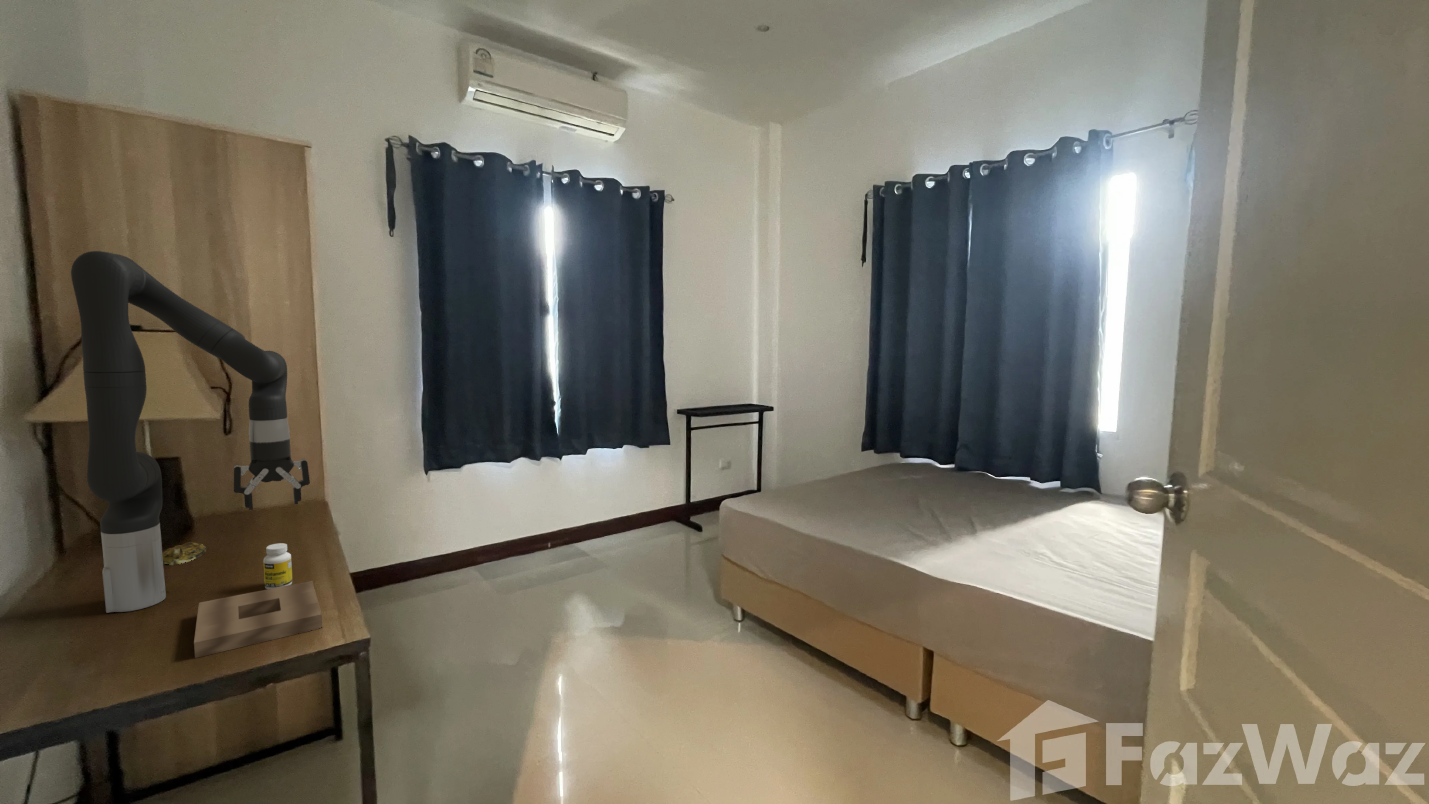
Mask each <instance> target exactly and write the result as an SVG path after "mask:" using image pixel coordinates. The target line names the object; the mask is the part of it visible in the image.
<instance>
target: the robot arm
mask: <svg viewBox="0 0 1429 804" xmlns="http://www.w3.org/2000/svg"><path fill="white" fill-rule="evenodd" d="M70 277H71V283H72V286H73V291H74V295H75V299H76V304H77V307H78V313H79V319H80V330H81V337H80V338H81V350H82V369H83V370H82V371H83V382H84V383H83V384H84V392H85V399H86V400H85V401H86V413H87V414H86V415H87V424H88V425H87V426H88V454H87V468H86V469H87V471H86V481H87V486H88V487H89V489H90V491H91V493H92V494H93V495H94V496H95V497H97V498H98V499H100V500H102V501H105V502H107V503H108V506H107V508H106V510H105V511H104V513H103V515H101V516H102V517H101V518H100V522H99V525H100V526H99V527H100V536H101V546H102V557H103V568H102V571H101V572H102V582H103V593H104V602H105V612H106V614H107V613H114V612H115V613H123V612H132V611H137V610H142V609H145V608H149V607H152V606H154V605H156V604H160V603H161V602H162V601H163V600H165V599H166V598H167V594H166V590H167V589H166V585H165V584H166V583H165V570H164V569H165V567H164V564H163V556H162V553H163V546H162V545H163V544H162V534H161V522H160V515H161V512H162V509H163V479H162V471H161V467H160V465H159V463H158V461H157V460H156V459H155V458H154V457H153V456H151V455H149V454H148V453H146V452H143V451H137V446H136V435H137V434H136V432H137V426H138V424H139V421H140V417H141V415H142V412H143V408H144V405H145V402H146V398H147V388H148V387H147V375H146V365H145V360H144V357H143V354H142V352H141V349H140V346H139V344H138V342H137V340H136V338H135V335H134V334H133V333H134V332H133V331H132V327H131V325H130V324H131V323H130V318H129V304H130V305H133V306H135V307H137V308H139V309H142V310H144V311H145V312H147V313H149V314H151V315H153V316H154V317H156V318H157V319H158V320H160V321H162V322H163V323H164V324H165V325H167V326H168V327H169V328H171V330H173V331H174V332H175V333H177V334H178V335H179V336H180V337H181V338H183V339H185V340H187V342H190V343H191V344H193V345H194V346H196V347H197V348H199V349H201V350H202V351H205V352H206V353H208V354H210V355H212V356H214V357H215V358H217V359H220V360H221V361H222V362H223V363H225V364H226V365H228V366H229V367H230V368H231V369H233V370H234V371H235V372H237V373H238V374H240V375H242V376H243V377H244V378H246V379H248V380H250V381H251V389H252V390H251V394H250V396H249V398H248V417H249V418H248V419H249V425H248V438H249V453H250V463H249V465H240V464H236V465H234V466H233V492H234V493H235V494H243V496H244V497H243V498H244V499H243V500H244V507H245V508H246V509H248V510H249V511H252V510H253V509H254V506H253V491H254V489H255V488H256V487H257V486H258V485H259V484H260V483H261V482H262V483H271V482H281V481H282V480H284V479H285V480H286V482H288V483H289V484H291V485H292V486H293V487H292V491H293V493H292V494H293V504H294V505H298V504H299V502H301V501H302V488H303V487H306V486H309V485H310V483H311V480H310V472H309V466H308V461H307V459H306V458H301V459H300V460H292V456H291V455H292V453H291V452H292V451H291V438H290V437H291V436H290V435H291V433H290V425H289V420H288V408H287V407H288V406H287V405H288V404H287V398H286V397H287V396H286V393H287V385H288V365H287V361H286V360H285V358H284V357H283V356H282V355H281V354H280V353H278V352H276V351H273V350H264V349H262V348H260V347H259V346H257V345H255V344H254V343H252V342H250V341H249V340H248V339H246V337H245V335H243V334H242V333H241V332H240V331H238V330H236V329H235V328H233V327H231V326H230V325H228V324H226V323H225V322H223V321H221V320H220V319H218V318H217V317H215V316H213V315H211V314H210V313H208V312H206V311H204V310H202V309H201V308H199V307H197V306H196V305H194V304H192V303H190V302H189V301H187V300H186V299H184V298H183V297H181V296H180V295H178V294H177V293H175V292H173V290H170V289H169V288H168V287H167V286H165V285H164V284H163V283H161V282H160V281H159V280H158V279H156V278H155V277H154V276H153V275H152V274H150V273H149V272H148V271H146V270H145V269H144V268H143V267H142V266H141V265H139V264H138V263H137V262H135V260H133V259H131V258H129V257H127V256H125V255H122V254H118V253H114V252H108V251H101V250H92V251H87V252H84V253H82V254H80V255H79V256H77V257H76V259H75V260H74V261H73V263H72V265H71V270H70ZM294 467H297V469H298V470H299V471H301V475H302V479H301V480H297V478H295V477H294V476H293V474H292V473H291V471H292V469H293V468H294ZM247 471H248V472H250V473H251V474H252V475H253V477H252V478H251V479H250V481H249V482H248V483H247V485H246V486H241V485H242V483H241V481H242V478H241V477H243V476H244V475H246V472H247Z"/></svg>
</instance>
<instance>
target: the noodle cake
mask: <svg viewBox="0 0 1429 804" xmlns="http://www.w3.org/2000/svg"><path fill="white" fill-rule="evenodd" d="M205 553H207V547H206V545H204V544H203V543H198V542H192V541H191V542H190V541H189V542H186V543H183V544H181V545H180V544H178V545H174V547H170V548H167V549H166V550H165V551H162V556H163V565H165V564H169V565H168V566H177V565H176V564H179V565H182V564H186V563H189V562H191V560H192V561H194V559H195V560H196V559H198V558H201V557H202V556H203V555H204V554H205ZM185 562H186V563H185ZM181 563H182V564H181Z"/></svg>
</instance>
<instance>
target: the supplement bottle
mask: <svg viewBox="0 0 1429 804" xmlns="http://www.w3.org/2000/svg"><path fill="white" fill-rule="evenodd" d="M265 549H266V552H265V553H266V555H265V556H264V558H263V561H262V563H263V564H262V565H263V566H262V567H263V582H264V583H263V584H264V588H265V590H267V589H272V588H277V587H282V586H287V585H293V567H292V565H293V564H292V554H291V553H290V552H288V544H287V543H283V542H282V543H281V542H279V543H273V544H269V545H267V546H266V548H265Z"/></svg>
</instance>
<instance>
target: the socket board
mask: <svg viewBox="0 0 1429 804" xmlns="http://www.w3.org/2000/svg"><path fill="white" fill-rule="evenodd" d="M321 627H322V628H323V614H322V611H321V606H320V604H319V599H318V596H317V592H316V590H315V587H314V581H313V580H309V581H305V582H299V583H294V584H293V583H292V584H291V585H287V586H282V587H277V588H272V589H264V590H262V589H261V590H257V591H252V592H247V593H242V594H236V595H231V596H227V597H221V598H216V599H211V600H207V601H202V602H201V601H200V602H199V603H198V608H197V615H196V623H195V632H194V640H193V646H194V658H195V659H197V658H201V657H205V656H209V655H213V654H214V655H215V654H218V653H222V652H225V651H226V652H227V651H230V650H231V651H232V650H235V649H239V648H243V647H248V646H252V645H256V644H260V643H264V642H269V641H273V640H277V639H281V638H285V637H286V638H287V637H290V636H294V635H299V634H302V633H306V632H311V630H312V631H315V630H316V631H317V630H320V629H322V628H321ZM319 628H320V629H319ZM298 633H299V634H298Z"/></svg>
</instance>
